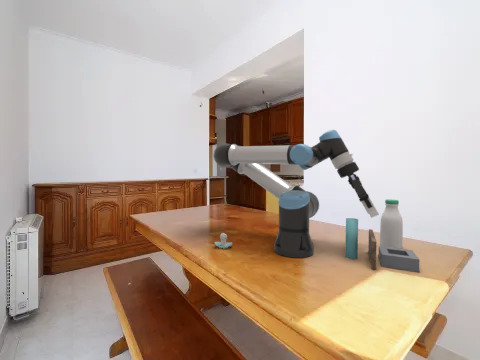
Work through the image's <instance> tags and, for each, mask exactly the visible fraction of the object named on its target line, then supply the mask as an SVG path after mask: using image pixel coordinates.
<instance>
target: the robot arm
mask: <svg viewBox="0 0 480 360" xmlns="http://www.w3.org/2000/svg"><path fill="white" fill-rule="evenodd" d="M318 139H319V142H318V143H316V144H315V145H312V146H309V145H307V144H305V143H304V144H303V143H299V144H295V145H289V144H287V145H285V144H284V145H251V146H250V145H249V146H247V145H245V146H244V145H243V146H241V145H238V144H236V143H232V144H230V143H221V144H218V145H217V146H216V148H215V149H214V151H213V159H214V161H215V163H216V164H217V165H218V166H219V167H222V168H228V169H232V170H234V171H235V172H236V173H238V174H239V175H243V174H244V175H245V176H247V177H248V178H250V179H251V180H252V181H253V182H255V183H256V184H257V185H259V186H260V187H262V188H263V189H264V190H266V191H267V192H269V194H271V195H272V196H274V197H275V198H277V199H278V202H277V203H278V231H277V236H276V239H275V241H274V245H273V250H274V251H273V252H274V253H276V254H277V255H281V256H284V257H288V258H295V259H296V258H300V259H301V258H307V257H308V258H309V257H310V256H313V255H314V252H315V251H314V250H315V248H314V244H313V241H312V238H311V237H312V236H311V235H310V219H311V218H313V217H315V215H316V214H317V213H318V211H319V209H320V200H319V198H318V197H317V195H315V194H314V193H313V192H311V191H307V190H305V189H304V188H303V187H301V186H299V185H297V184H294V185H292V184H290V183H289V182H287V181H286V180H285V179H283V178H281V177H280V176H279V175H277V174H276V173H274V172H272V170H269V169H268V168H267V167H265V166H264V165H293V166H295V165H299V167H300V168H301V169H302V170H304V171H306V170H309V169H312V168H313V167H314V166H317V165H318V164H320V163H322V162H323V161H325V160H327V159H330V161H331V163H332V165H333V167H334V169H335V170H336V171H337V174H338V176H339V178H341V179H343V178H346V177H347V179H348V180H347V182H348V185H350V186H351V188H352V189H353V190H354V191H355V193H356V195H357V197H358V201H359V203H360V202H361V204H362V206H363V207H364V209H365V211H366V213H367V214H368V215H369V217H370V218H374V217H377V216H379V215H380V214H379V212H378V210H377V208H376V207H375V205H374V203H373V201H372V200H371V198H370V195H369V193H367V191H366V190H365V187H364V186H363V184H362V181H361V180H360V177H359V176H358V175H357V174H356V172H358V171H360V168H359V166H358V164H357V163H356V161H354V158H353V153H350V152H349V149H348V147H347V146H346V144H345V142H344V140H343V138H342V137H341V135H340V134H339V132H338V131H337V130H336V129H330V130H327V131H325V132H324V133H322V134H321V135H319V137H318Z"/></svg>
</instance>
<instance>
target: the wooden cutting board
mask: <svg viewBox="0 0 480 360" xmlns="http://www.w3.org/2000/svg"><path fill="white" fill-rule="evenodd" d="M377 243H378V242H377V239H376V236H375V233H374V230H373V229H368V247H367V248H368V249H367V250H368V256H369V263H370V268H371V269H372V270H373V271H376V270H377Z"/></svg>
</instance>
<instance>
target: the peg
mask: <svg viewBox="0 0 480 360" xmlns="http://www.w3.org/2000/svg"><path fill="white" fill-rule="evenodd" d="M358 241H359V219H358V218H354V217H347V218H346V219H345V249H344V250H345V253H344V254H345V258H347V259H350V260H357V259H358V255H359V253H358V249H359V242H358Z"/></svg>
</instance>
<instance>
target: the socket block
mask: <svg viewBox="0 0 480 360" xmlns="http://www.w3.org/2000/svg"><path fill="white" fill-rule="evenodd" d="M378 259H379V262H380V265H381V267H383V268H387V269H388V268H389V269H396V270H403V271H409V272H415V273H420V258H419V257H418V256H417V254H416V253H415V251H414V250H413V249H408V248H407V249H405V248H402V249H399V248H391V247H383V246H380V245H379V246H378Z"/></svg>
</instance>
